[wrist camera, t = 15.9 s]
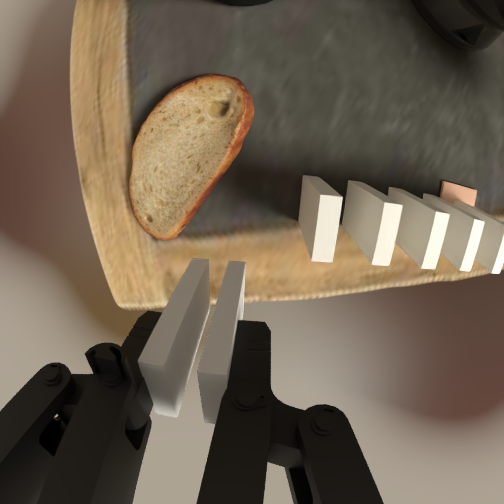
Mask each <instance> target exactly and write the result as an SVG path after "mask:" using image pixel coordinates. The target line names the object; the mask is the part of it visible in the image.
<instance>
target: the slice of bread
mask: <svg viewBox="0 0 504 504" xmlns="http://www.w3.org/2000/svg"><path fill="white" fill-rule="evenodd" d="M253 117H254V105H253V101H252V98H251V95H250V93H249V92H248V90H247V89H246V87H245V86H244V85H243V83H242V82H241V81H240V80H239V79H237V78H234V77H230V76H225V75H220V74H206V75H203V76H199V77H196V78H193V79H191V80H189V81H186V82H184V83H182V84H180V85H178V86H176V87H175V88H173V89H172V90H171V91H170V92H169V93H168V94H167V95H166V96H165V97H164V98H163V99H162V100H161V101H160V102H159V103H158V104H157V105H156V106H155V107H154V109H153V110H152V111H151V113H150V114H149V116H148V118H147V119H146V120H145V122H144V123H143V124H142V126H141V128H140V131H139V133H138V135H137V137H136V140H135V143H134V146H133V149H132V162H133V165H132V172H131V175H130V179H129V192H130V199H131V203H132V207H133V212H134V215H135V216H136V218H137V220H138V221H139V223H140V225H141V226H142V227H143V229H144V230H145V231H146V232H147V233H148V234H149V235H151V236H153V237H155V238H157V239H161V240H171V239H173V238H175V237H176V236H177V235H178V234H179V232H181V231H182V230H183V229H184V228H185V227H186V226H187V224H188V223H189V222H190V221H191V219H192V218H193V217H194V215H195V214H196V213H197V211H198V210H199V208H200V207H201V205H202V203H203V202H204V201H205V199H206V198H207V197H208V195H209V194H210V193H211V191H212V190H213V189H214V187H215V186H216V185H217V183H218V182H219V181H220V180H221V178H222V177H223V175H224V174H225V173H226V171H227V170H228V168H229V167H230V165H231V164H232V162H233V160H234V159H235V158H236V156H237V155H238V153H239V151H240V150H241V148H242V144H243V141H244V139H245V137H246V135H247V133H248V131H249V128H250V126H251V123H252V121H253Z"/></svg>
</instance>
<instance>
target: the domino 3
mask: <svg viewBox="0 0 504 504" xmlns="http://www.w3.org/2000/svg"><path fill="white" fill-rule="evenodd" d="M388 197H390V198H392V199H393V200H395V201H397V202H398V203H400V204H402V205H403V207H402V212H401V217H400V222H399V227H398V232H397V236H396V240H395V243H396V244H397V245H398V246H399V247H400V248H401V249H402V250H403V251H404V252H406V253H407V254H408V255H409V256H410V258H411V259H412V260H413V261H414V262H415V263H416V264H417V265H418V266H419V267H420V268H421V269H435V268H436V264H437V261H438V258H439V255H440V251H441V248H442V244H443V240H444V237H445V233H446V229H447V225H448V220H449V216H450V214H449V213H447V212H445V211H443V210H442V209H440V208H438V207H436V206H434V205H432V204H430V203H428V202H427V201H425V200H423V199H421V198H419V197H417V196H415V195H413V194H411V193H409V192H407V191H405V190H402V189H399V188H394V187H389V190H388Z"/></svg>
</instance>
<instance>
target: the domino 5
mask: <svg viewBox="0 0 504 504" xmlns="http://www.w3.org/2000/svg"><path fill="white" fill-rule="evenodd" d="M453 205H455V206H457V207H459V208H461V209H463V210H465V211H467V212H469V213H470V214H472V215H474V216H476V217H478V218H480V219H481V220H483V221H485V223H484V227H483V231H482V235H481V238H480V242H479V245H478V249H477V252H476V255H475V258H474V259H475V260H476V261H477V262H478V263H480V264H481V265H482V266H483V267H485V268H486V269H487V270H488V271H489V272H490V273H495V274H499V273H500V271H501V268H502V265H503V262H504V222H502V221H500V220H498V219H496V218H494V217H493V216H491V215H489V214H487V213H485V212H483V211H481V210H479V209H477V208H475V207H473V206H471V205H469V204H467V203H465V202H463V201H459V200H455V199H454V203H453Z"/></svg>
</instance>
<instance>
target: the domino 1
mask: <svg viewBox="0 0 504 504" xmlns="http://www.w3.org/2000/svg"><path fill="white" fill-rule="evenodd" d="M342 199H343V197H342V196H341V195H340V194H339V193H337V192H336V191H335V190H334V189H333V188H332V187H330V186H329V185H328V184H327V183H326V182H324V181H323V180H322V179H321V178H319V177H318V176H308V175H303V180H302V190H301V200H300V210H299V219H298V222H299V225H300V228H301V231H302V234H303V237H304V240H305V243H306V246H307V249H308V252H309V255H310V258H311V261H317V262H332V261H333V255H334V250H335V244H336V238H337V232H338V226H339V220H340V213H341V206H342Z"/></svg>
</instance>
